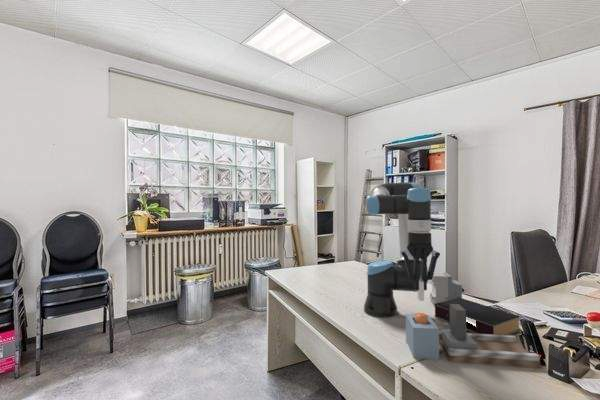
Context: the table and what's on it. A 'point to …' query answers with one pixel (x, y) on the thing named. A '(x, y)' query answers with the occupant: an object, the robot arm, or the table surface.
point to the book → (481, 317)
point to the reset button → (420, 318)
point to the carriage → (458, 330)
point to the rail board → (493, 348)
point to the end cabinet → (422, 338)
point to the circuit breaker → (444, 288)
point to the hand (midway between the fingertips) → (420, 299)
